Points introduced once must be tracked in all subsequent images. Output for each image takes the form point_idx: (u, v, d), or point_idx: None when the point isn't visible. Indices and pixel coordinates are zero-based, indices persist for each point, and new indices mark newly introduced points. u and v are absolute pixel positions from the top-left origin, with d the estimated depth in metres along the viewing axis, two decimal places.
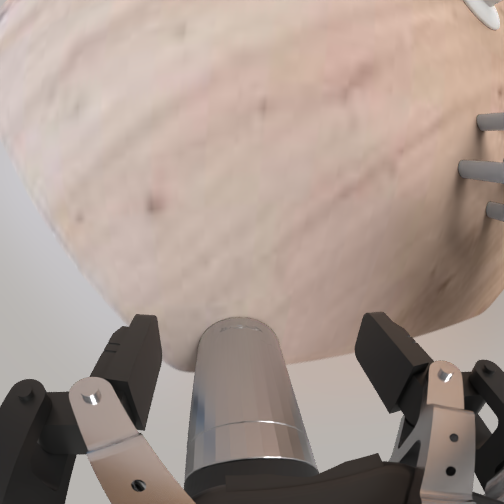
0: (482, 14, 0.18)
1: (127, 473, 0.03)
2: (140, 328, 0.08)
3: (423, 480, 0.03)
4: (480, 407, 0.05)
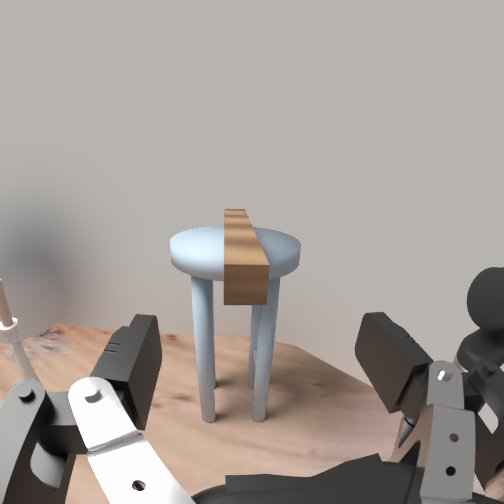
0: None
1: (127, 473, 0.03)
2: (140, 328, 0.08)
3: (423, 480, 0.03)
4: (480, 407, 0.05)
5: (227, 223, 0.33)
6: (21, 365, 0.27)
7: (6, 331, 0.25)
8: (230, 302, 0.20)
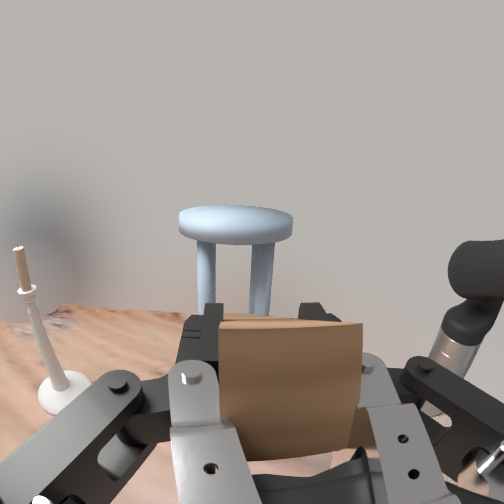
0: None
1: (204, 455, 0.04)
2: (215, 315, 0.09)
3: (423, 480, 0.03)
4: (416, 409, 0.06)
5: None
6: (36, 329, 0.33)
7: (25, 295, 0.31)
8: None
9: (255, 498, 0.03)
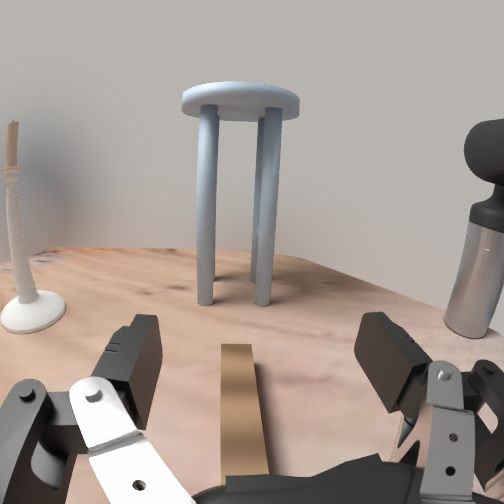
0: (57, 305, 0.34)
1: (128, 473, 0.03)
2: (141, 328, 0.08)
3: (423, 480, 0.03)
4: (479, 407, 0.05)
5: (225, 431, 0.18)
6: (10, 215, 0.27)
7: (7, 171, 0.25)
8: None
9: None
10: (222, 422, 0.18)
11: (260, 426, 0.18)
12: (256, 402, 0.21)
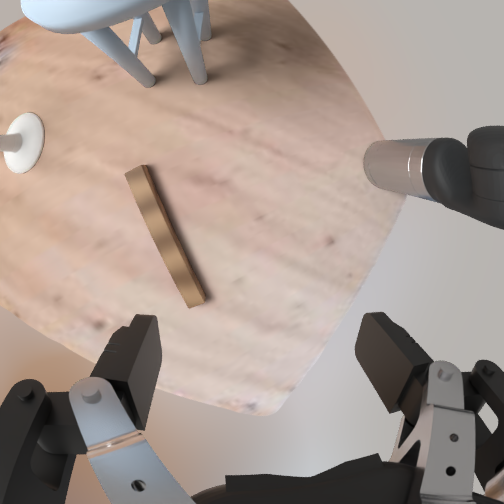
0: (37, 133, 0.37)
1: (127, 473, 0.03)
2: (140, 328, 0.08)
3: (423, 480, 0.03)
4: (480, 407, 0.05)
5: (154, 237, 0.44)
6: None
7: None
8: None
9: None
10: (150, 232, 0.44)
11: (167, 228, 0.44)
12: (160, 213, 0.43)
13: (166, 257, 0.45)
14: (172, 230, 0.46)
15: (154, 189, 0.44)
